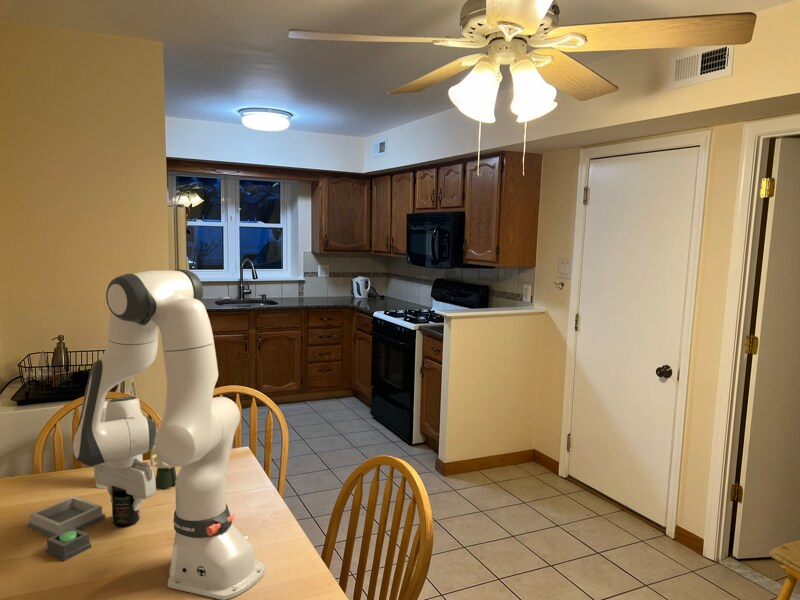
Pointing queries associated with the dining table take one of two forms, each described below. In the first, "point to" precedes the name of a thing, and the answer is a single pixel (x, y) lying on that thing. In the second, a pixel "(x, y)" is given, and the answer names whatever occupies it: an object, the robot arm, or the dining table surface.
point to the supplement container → (123, 508)
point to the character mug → (163, 471)
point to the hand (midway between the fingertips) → (125, 505)
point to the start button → (68, 536)
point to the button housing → (67, 545)
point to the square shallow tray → (65, 516)
